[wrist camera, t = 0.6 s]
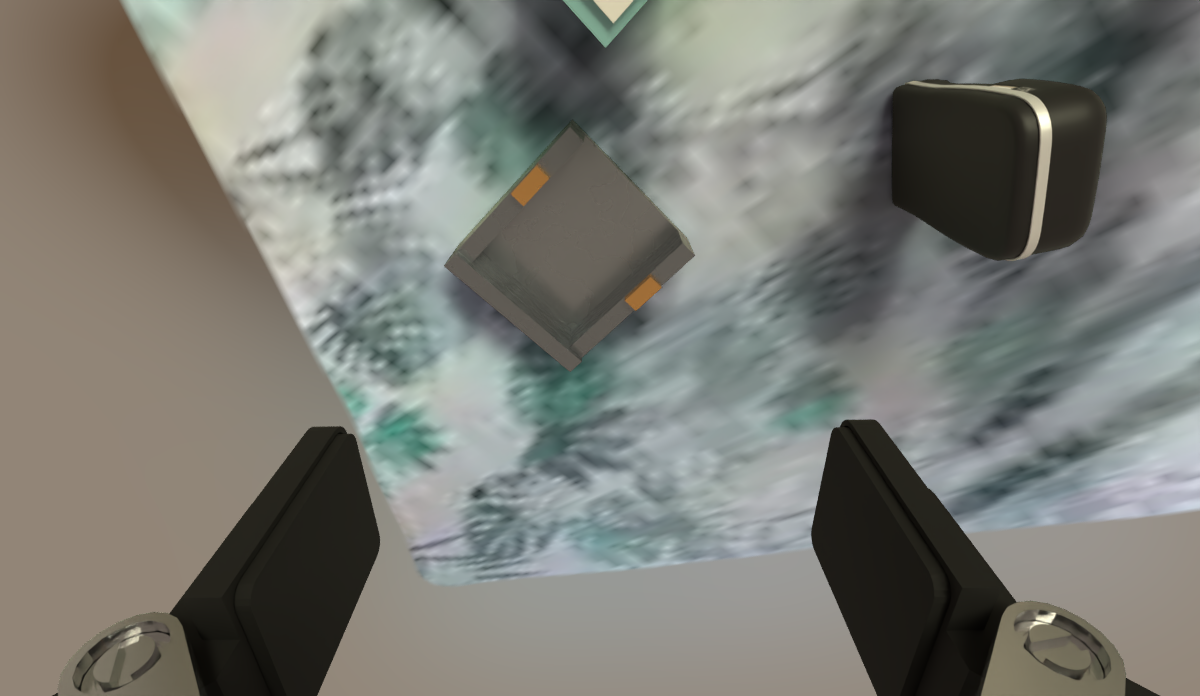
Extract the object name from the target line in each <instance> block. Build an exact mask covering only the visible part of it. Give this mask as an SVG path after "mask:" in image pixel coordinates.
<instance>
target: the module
mask: <svg viewBox="0 0 1200 696" xmlns="http://www.w3.org/2000/svg"><path fill="white" fill-rule="evenodd" d="M563 1H564V2H565V4H566V5H567V6H568V7H569V8H570V9H571V10H572V11H573V12H574V14H575V15H576V16H577V17H578V18H579V19H580V20H581V21H582V22H583V24H584V25H585V26H586V27H587V28H588V29H589V30H590V31H591V33H592V34H593V35H594V36H595V37H596V38H597V39H598V40H599V41H600V43H601V44H602V45H603V46H604V47H605V48H606V47H607V46H608V44H609V43H610V42H611V41H612V40H613V39H614V38H615V37H616V35H617V34H618V33H619V32H620V31H621V30H622V29H623V28H624V26H625V25H626V24H627V23H628V22H629V21H630V20H631V18H632V17H633V16H634V15H635V14H636V13H637V12H638V11H639V9H640V8H641V7H642V6H643V5H644V4H645V3H646V2H647V0H563Z"/></svg>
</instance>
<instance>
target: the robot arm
mask: <svg viewBox="0 0 1200 696" xmlns="http://www.w3.org/2000/svg"><path fill="white" fill-rule="evenodd" d="M811 537H812V544H813V548H814V550H815V553H816V555H817V557H818V560H819V562H820V564H821V567H822V569H823V571H824V574H825V576H826V578H827V580H828V582H829V585H830V587H831V590H832V592H833V594H834V596H835V599H836V601H837V603H838V606H839V608H840V610H841V613H842V615H843V617H844V620H845V622H846V624H847V627H848V629H849V631H850V634H851V636H852V638H853V641H854V643H855V645H856V647H857V650H858V652H859V654H860V656H861V659H862V661H863V664H864V666H865V668H866V671H867V673H868V675H869V678H870V680H871V682H872V684H873V687H874V689H875V691H876V694H877V696H1159V695H1157V694H1156V693H1153V692H1151V691H1150V690H1148V689H1146V688H1144V687H1142V686H1140V685H1138V684H1137V683H1134V682H1133V681H1131V680H1129V679H1127V678H1126V672H1125V667H1124V662H1123V659H1122V658H1121V656H1120V654H1119V653H1118V651H1117V650H1116V648H1115V646H1114V645H1113V644H1112V643H1111V642H1110V641H1109V640H1108V639H1107V638H1106V637H1105V636H1104V635H1103V634H1102V633H1101V632H1100V631H1099V630H1098V629H1096V628H1095V627H1094V626H1092V625H1091V624H1090V623H1088V622H1087V621H1086V620H1084V619H1082V618H1080V617H1078V616H1077V615H1075V614H1073V613H1071V612H1069V611H1067V610H1065V609H1062V608H1059V607H1056V606H1054V605H1051V604H1048V603H1041V602H1036V601H1025V602H1016V601H1015V599H1014V598H1013V597H1012V595H1011V594H1010V593H1009V591H1008V590H1007V589H1006V587H1005V586H1004V585H1003V584H1002V582H1001V581H1000V580H999V578H998V577H997V576H996V574H995V573H994V572H993V570H992V569H991V568H990V566H989V565H988V564H987V562H986V561H985V560H984V558H983V557H982V556H981V555H980V553H979V552H978V550H977V549H976V548H975V547H974V545H973V544H972V542H971V541H970V540H969V539H968V537H967V536H966V535H965V533H964V532H963V531H962V529H961V528H960V527H959V525H958V524H957V523H956V521H955V520H954V519H953V517H952V516H951V515H950V513H949V512H948V511H947V509H946V508H945V507H944V505H943V504H942V503H941V501H940V500H939V499H938V498H937V496H936V495H935V494H934V493H933V492H932V491H931V490H930V489H928V488H927V486H926V485H925V484H924V482H923V481H922V480H921V478H920V477H919V476H918V474H917V473H916V472H915V470H914V469H913V468H912V466H911V465H910V464H909V462H908V461H907V460H906V458H905V457H904V456H903V454H902V453H901V452H900V450H899V449H898V448H897V446H896V445H895V444H894V442H893V441H892V440H891V438H890V437H889V436H888V434H887V433H886V432H885V430H884V429H883V428H882V426H881V425H880V424H879V423H878V422H877V421H876V420H845V421H843V422H842V424H841V426H840V427H836V428H834V429H833V430H832V433H831V437H830V442H829V447H828V452H827V457H826V462H825V467H824V471H823V476H822V481H821V486H820V491H819V496H818V501H817V506H816V511H815V515H814V520H813V525H812V531H811ZM379 546H380V536H379V531H378V527H377V523H376V519H375V515H374V511H373V507H372V503H371V498H370V495H369V491H368V487H367V482H366V478H365V474H364V470H363V466H362V462H361V458H360V454H359V449H358V445H357V442H356V438H355V436H354V435H353V434H347V432H346V430H345V429H344V428H343V427H341V426H340V427H312V428H310V429H309V430H308V431H307V432H306V433H305V434H304V436H303V437H302V438H301V440H300V441H299V442H298V444H297V445H296V446H295V448H294V449H293V450H292V452H291V453H290V455H289V456H288V457H287V458H286V460H285V461H284V462H283V464H282V465H281V466H280V468H279V469H278V470H277V472H276V473H275V474H274V476H273V477H272V478H271V480H270V481H269V482H268V484H267V485H266V486H265V488H264V489H263V491H262V492H261V493H260V494H259V496H258V497H257V498H256V500H255V501H254V502H253V504H251V506H250V507H249V508H248V510H247V511H246V512H245V514H244V515H243V516H242V518H241V519H240V520H239V522H238V523H237V524H236V526H235V527H234V528H233V530H232V531H231V532H230V534H229V535H228V536H227V538H226V539H225V540H224V542H223V543H222V544H221V546H220V547H219V548H218V550H217V551H216V552H215V554H214V555H213V556H212V558H211V559H210V560H209V562H208V563H207V564H206V566H205V567H204V568H203V570H202V571H201V572H200V574H199V575H198V576H197V578H196V579H195V580H194V582H193V583H192V584H191V586H190V587H189V588H188V590H187V591H186V592H185V594H184V595H183V596H182V598H181V599H180V600H179V602H178V603H177V604H176V606H175V607H174V608H173V610H172V611H171V612H170V614H168V613H158V612H152V613H146V614H141V615H136V616H133V617H131V618H128V619H125V620H123V621H120V622H118V623H116V624H114V625H112V626H111V627H109V628H107V629H105V630H103V631H102V632H100V633H99V634H97V635H96V636H95V637H93V638H92V639H91V640H89V641H88V642H87V643H85V644H84V645H83V646H82V647H81V648H80V649H79V650H78V651H77V652H76V653H75V654H74V655H73V657H72V658H71V659H70V660H69V661H68V663H67V665H66V666H65V668H64V670H63V671H62V673H61V676H60V680H59V684H58V693H56V694H55V695H53V696H317V695H318V692H319V690H320V688H321V685H322V683H323V681H324V678H325V676H326V674H327V671H328V669H329V667H330V664H331V662H332V660H333V657H334V655H335V653H336V651H337V648H338V646H339V643H340V641H341V639H342V637H343V634H344V632H345V630H346V627H347V625H348V623H349V620H350V618H351V616H352V613H353V611H354V609H355V606H356V604H357V602H358V599H359V597H360V595H361V592H362V590H363V588H364V585H365V583H366V580H367V578H368V576H369V574H370V571H371V569H372V566H373V564H374V562H375V560H376V557H377V554H378V551H379Z"/></svg>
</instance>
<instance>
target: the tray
mask: <svg viewBox="0 0 1200 696" xmlns="http://www.w3.org/2000/svg"><path fill="white" fill-rule="evenodd" d="M694 256H695V254H694V252H693V250H692V248H691V245H690V243H689V241H688V239H687V237H686V236H685V235H684V234H683V233H682V232H681V231H680V230H679V229H678V228H677V227H676V226H675V225H674V224H673V223H672V222H671V221H670V220H669V219H668V218H667V217H666V216H665V215H664V214H663V212H662V211H661V210H660V209H659V208H658V207H657V206H656V205H655V204H654V203H653V202H652V201H651V200H650V199H649V198H648V197H647V196H646V195H645V194H644V193H643V192H642V191H641V190H640V189H639V188H638V187H637V186H636V185H635V184H634V183H633V182H632V180H631V179H630V178H629V177H628V176H627V175H626V174H625V173H624V172H623V171H622V170H621V169H620V168H619V167H618V166H617V165H616V164H615V163H614V162H613V161H612V160H611V159H610V158H609V157H608V156H607V155H606V154H605V153H604V152H603V151H602V150H601V148H600V147H599V146H598V145H597V144H596V143H595V142H594V141H593V140H592V139H591V138H590V137H589V136H588V135H587V134H586V133H585V132H584V131H583V130H582V129H581V128H580V127H579V126H578V125H577V124H576V123H575V122H574V121H573V120H571V122H570V123H569V124H568V125H567V126H566V127H565V128H564V129H563V130H562V131H561V133H560V134H559V135H558V136H557V137H556V138H555V139H554V140H553V141H552V143H551V144H550V145H549V146H548V147H547V148H546V149H545V150H544V151H543V152H542V154H541V155H540V156H539V157H538V158H537V159H536V160H535V161H534V162H533V163H532V165H531V166H530V167H529V168H528V169H527V170H526V171H525V172H524V173H523V174H522V176H521V177H520V178H519V179H518V180H517V181H516V182H515V183H514V184H513V185H512V187H511V188H510V189H509V190H508V191H507V192H506V193H505V194H504V195H503V197H502V198H501V199H500V200H499V201H498V202H497V203H496V204H495V205H494V206H493V208H492V209H491V210H490V211H489V212H488V213H487V214H486V215H485V216H484V217H483V219H482V220H481V221H480V222H479V223H478V224H477V225H476V226H475V227H474V228H473V230H472V231H471V232H470V233H469V234H468V235H467V236H466V237H465V238H464V240H463V241H462V242H461V243H460V244H459V245H458V247H457V248H456V249H455V251H454V252H453V254H452V255H451V257H450V258H449V259H448V261H447V262H446V264H445V265H444V266H445V267H446V268H447V269H448V270H449V271H450V272H452V273H453V274H454V275H455V276H456V277H458V278H459V279H460V280H461V281H462V282H464V283H465V284H466V285H467V286H468V287H470V288H471V289H472V290H473V291H474V292H476V293H477V294H478V295H479V296H480V297H481V298H483V299H484V300H485V301H486V302H487V303H489V304H490V305H491V306H492V307H493V308H495V309H496V310H497V311H498V312H499V313H501V314H502V315H503V316H504V317H505V318H506V319H508V320H509V321H510V322H511V323H512V324H514V325H515V326H516V327H517V328H518V329H520V330H521V331H522V332H523V333H524V334H526V335H527V336H528V337H529V338H530V339H531V340H533V341H534V342H535V343H536V344H537V345H539V346H540V347H541V348H542V349H543V350H545V351H546V352H547V353H548V354H549V355H551V356H552V357H553V358H554V359H555V360H556V361H558V362H559V363H560V364H561V365H562V366H564V367H565V368H566V369H567V370H568V371H570V372H571V371H572V370H573V369H574V368H575V367H576V366H577V365H578V364H580V363H581V362H582V357H583V356H584V355H585V354H586V353H588V352H589V351H590V350H591V349H592V348H593V347H594V346H595V345H596V344H598V343H599V342H600V341H601V340H602V339H603V338H604V337H605V336H606V335H607V334H609V333H610V332H611V331H612V330H613V329H614V328H615V327H616V326H617V325H619V324H620V323H621V322H622V321H623V320H624V319H625V318H626V317H627V316H629V315H630V314H631V313H632V312H633V311H634V310H635V311H636V310H637V309H639V308H640V307H641V306H642V305H643V304H644V303H645V302H646V301H647V300H649V299H650V298H651V297H652V296H653V295H654V294H655V293H656V292H657V291H658V290H660V289H661V288H662V287H661V286H662V285H663V284H664V283H665V282H666V281H667V280H668V279H669V278H671V277H672V276H673V275H674V274H675V273H676V272H677V271H678V270H679V269H681V268H682V267H683V266H684V265H685V264H686V263H687V262H688V261H689V260H691V259H692V258H693V257H694Z"/></svg>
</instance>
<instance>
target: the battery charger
mask: <svg viewBox="0 0 1200 696" xmlns="http://www.w3.org/2000/svg"><path fill="white" fill-rule="evenodd" d="M1106 122H1107V115H1106V107H1105V105H1104V103H1103V101H1102V100H1101V98H1100V97H1099V96H1098V95H1097V94H1096V93H1094V92H1093V91H1092V90H1090V89H1087V88H1084V87H1081V86H1077V85H1073V84H1067V83H1061V82H1053V81H1045V80H1034V79H1015V80H1008V81H1004V82H999V83H995V84H956V83H950V82H949V81H948V80H938V79H935V80H923V81H919V82H918V81H911V82H907V83H905V85H902V86H899V87H897V88H895V90H894V92H893V123H892V200H893V204H894V205H895V206H897V207H899V208H901V209H903V210H905V211H907V212H909V213H911V214H913V215H915V216H916V217H918V218H920V219H921V220H923V221H924V222H926V223H927V224H928V225H930V226H932V227H933V228H935V229H936V230H938V231H939V232H941V233H942V234H944V235H946V236H947V237H949V238H950V239H952V240H954V241H956V242H957V243H959V244H961V245H963V246H964V247H966V248H968V249H970V250H972V251H974V252H976V253H978V254H980V255H982V256H984V257H987V258H990V259H993V260H997V261H999V260H1006V261H1015V260H1020V259H1024V258H1026V257H1028V256H1030V255H1032V254H1037V253H1042V252H1047V251H1052V250H1057V249H1061V248H1064V247H1068V246H1070V245H1072V244H1073V243H1074V242H1076V241H1077V240H1079V239H1080V238H1081V237H1083V235H1084V234H1085V232H1086V230H1087V228H1088V226H1089V224H1090V220H1091V217H1092V212H1093V207H1094V201H1095V196H1096V190H1097V185H1098V179H1099V174H1100V167H1101V160H1102V153H1103V146H1104V139H1105V132H1106Z"/></svg>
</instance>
